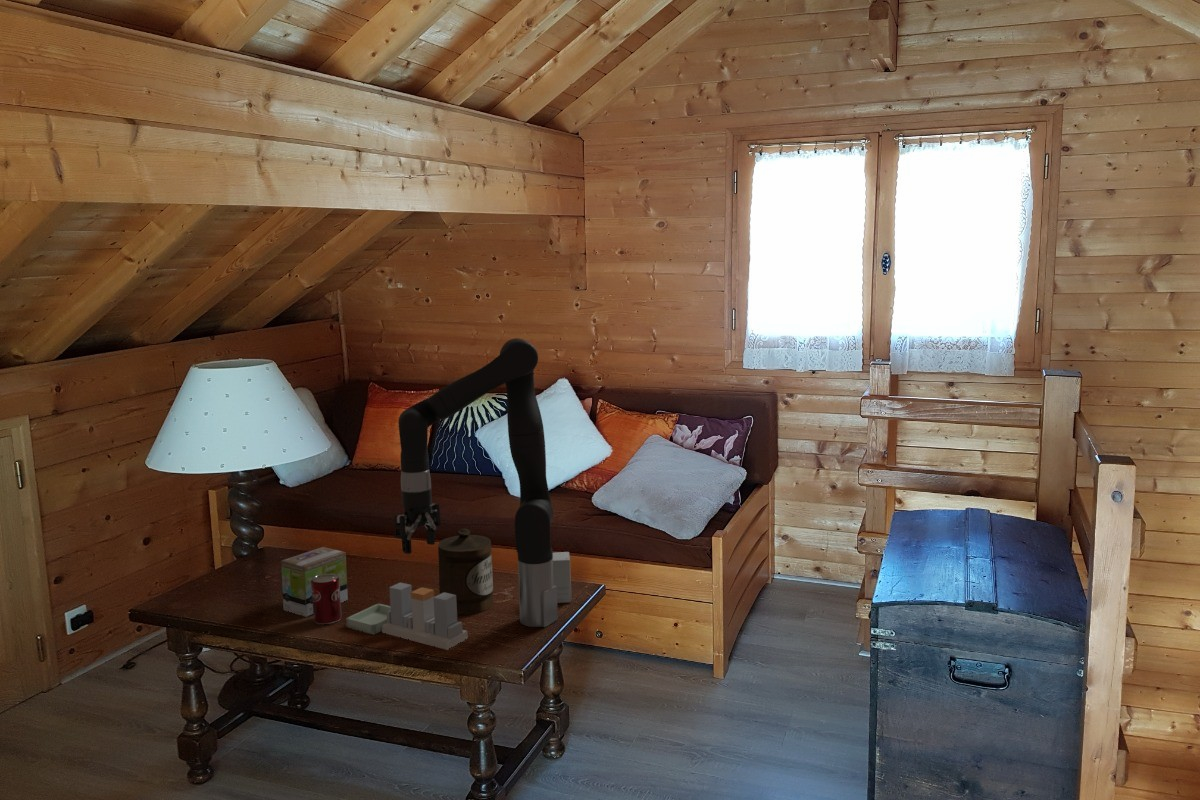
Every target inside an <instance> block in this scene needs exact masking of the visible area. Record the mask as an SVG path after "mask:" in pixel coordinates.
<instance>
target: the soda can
mask: <svg viewBox="0 0 1200 800" xmlns="http://www.w3.org/2000/svg"><path fill="white" fill-rule="evenodd" d="M311 589H312V603H313V614H312V616H313V621H314V622H315V624H317V625H320V624H329V625H333V624H335V622H336V623H338V622H339V621H340V620H341V619H342V617H343V616H342V603H341V598H340V583H339V577H338V576H337V575H335V574H321V575H318V576H315V577H313V579H312V580H311ZM337 621H338V622H337ZM332 623H333V624H332Z"/></svg>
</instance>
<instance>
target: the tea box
mask: <svg viewBox="0 0 1200 800" xmlns="http://www.w3.org/2000/svg"><path fill="white" fill-rule="evenodd" d="M346 555H347V552H345V551H342V550H339V549H333V548H330V547H329V548H328V547H325V546H322V547H319V548H315V549H312V550H309V551H306V552H303V553H301V554H297V555H295V556H291V557H288V558H284V559H282V560H281V561H280V562H281V563H280V565H281V566H280V567H281V582H282V583H281V584H282V603H283V607H282V608H283V611H285V612H288V611H289V613H291V612H292V614H294V613H295V615H298V616H301V615H302V617H305V618H307V617H309V616H311V615H313V603H312V589H311V580H312V579H313V577H315V576H318V575H321V574H335V575H337V576H338V577H339V583H340V598H341V604H342V603H344V601H345V602H347V601H348V600H349V596H348V594H349V592H348V575H347V573H348V572H347V556H346ZM346 600H347V601H346Z"/></svg>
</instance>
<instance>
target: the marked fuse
mask: <svg viewBox="0 0 1200 800" xmlns="http://www.w3.org/2000/svg"><path fill="white" fill-rule="evenodd" d="M433 597H435V590H434V589H432V588H426V587H419V588H417V589H415V590H412V592H411V600H412V619H413V629H414V630H417V631H421V632H426V627H425V622H426V621H428V620H430V619H432V618H434V598H433Z"/></svg>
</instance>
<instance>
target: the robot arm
mask: <svg viewBox="0 0 1200 800" xmlns="http://www.w3.org/2000/svg"><path fill="white" fill-rule="evenodd" d="M499 351H500V352H499V355H497V356H496V357H495V358H493V360H491V361H490V362H488V363H487V364H485V365H484V366H482V367H481V368H479V369H478V370H476V371H474V372H471V373H469V374H467V375H465V376H462V377H461V378H459V379H456V380H454V381H453V382H450V383H449V384H448V385H446V386H444V387H443V388H441V389H439V390H438V391H437V392H435V393H433V394H432V395H431V396H429V397H427V398H425V399H422V400H421V401H418V402H417V403H415V404H413V405H411V406H409V407H408V408H406V409H405V410H403V411H402V412H401V414H400V415H399V416H398V422H397V423H398V431H399V433H398V434H399V443H400V493H401V495H400V496H401V506H402V507H403V509H404V512H403V514H395V516H394V538H395V539H400V540H401V548H402V552H403V554H407V555H410V554H411V553H412V539H411V538H412V535H413V533H415V532H416V531H417V528H420V527H421V526H424V527H425V528H426V530H425V536H426V538H425V539H426V544H427V545H431V546H432V545H435V543H436V530H437V527H440V526H441V524H442V521H441V512H440V504H439V503H434V502H433V497H432V477H431V473H430V457H429V450H428V439H429V437H428V435H429V434H428V432H429V431H428V428H429V427H431V426H432V425H434V424H436V423H437V422H439V421H443V420H446V419H448V418H450V417H452V416H454V415H455V414H457V413H458V412H460V411H462V410H463V409H465V408H466V407H468V406H469V405H471V404H472V403H474V402H476V400H478V399H480V398H482V397H483V396H485V395H486V394H488V393H489V392H491V391H494V390H495V389H497V388H498V387H501V386H502V385H505V389H506V390H505V391H506V412H507V414H506V415H507V416H506V417H507V431H508V434H507V435H508V444H509V450H510V454H511V459H512V461H513V465H514V467H515V470H516V472H517V476H518V483H519V498H520V499H519V507H518V509H517V510H516V512H515V514H514V515H515V516H514V538H515V549H516V553H517V570H518V571H517V572H518V576H517V577H518V597H519V598H518V603H519V605H518V607H519V623H520V624H522V625H523V626H526V627H529V628H530V627H532V628H539V627H541V628H547V627H548V626H549V625H551V624H553V623H555V622H556V621H558V619H559V617H558V616H559V615H558V603H557V586H555V585H553V553H554V552H553V548H552V543H551V541H552V540H551V539H552V538H551V523H552V521H553V518H554V508H553V505H552V500H551V495H550V491H549V490H550V489H549V485H548V481H547V479H548V478H547V456H546V455H547V453H546V438H545V430H544V423H543V419H542V413H541V409H540V406H539V403H538V399H537V395H536V391H535V376H534V370H535V369H536V367H537V365H538V363H539V353H538V350H537V348H536V347H535V345H533V344H532V343H531V342H529V341H527V340H525V339H523V338H517V337H515V338H512V339H509V340H507V341H506V342H505V343H504V344H503V345H502V347H501V348H500V350H499Z"/></svg>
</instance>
